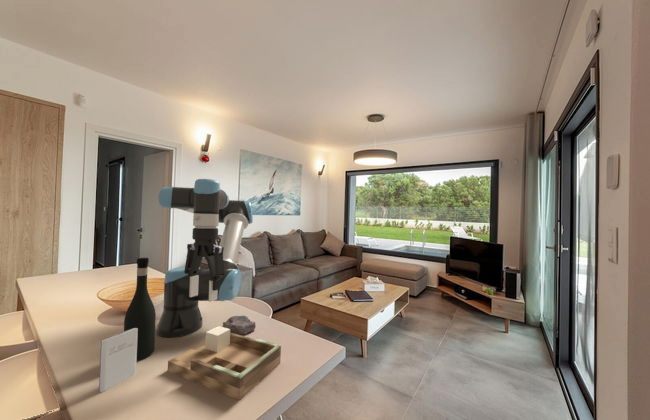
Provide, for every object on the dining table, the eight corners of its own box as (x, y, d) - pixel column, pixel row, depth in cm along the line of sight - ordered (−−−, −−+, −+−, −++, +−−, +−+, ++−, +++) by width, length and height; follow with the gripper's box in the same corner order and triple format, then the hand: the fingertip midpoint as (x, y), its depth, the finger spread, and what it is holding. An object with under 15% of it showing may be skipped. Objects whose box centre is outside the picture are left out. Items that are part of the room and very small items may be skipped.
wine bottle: (116, 359, 78) (120, 258, 79) (142, 346, 86) (146, 255, 86) (134, 365, 75) (138, 261, 76) (160, 351, 83) (164, 257, 83)
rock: (247, 337, 93) (247, 324, 93) (219, 334, 95) (219, 321, 96) (258, 328, 101) (258, 315, 101) (232, 325, 103) (232, 313, 104)
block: (205, 348, 80) (205, 332, 80) (218, 341, 85) (218, 325, 85) (217, 352, 78) (217, 335, 78) (229, 345, 82) (230, 329, 83)
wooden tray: (167, 371, 73) (168, 350, 73) (215, 344, 88) (216, 327, 88) (239, 402, 62) (240, 377, 62) (280, 365, 78) (281, 345, 78)
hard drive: (98, 391, 64) (100, 340, 65) (132, 372, 72) (134, 327, 72) (102, 392, 64) (104, 341, 64) (136, 374, 71) (138, 328, 72)
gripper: (173, 226, 85) (170, 296, 85) (220, 229, 76) (217, 307, 76) (193, 225, 92) (190, 290, 91) (238, 228, 83) (236, 299, 83)
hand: (203, 298), depth 84 cm, fingers open, 8 cm apart
